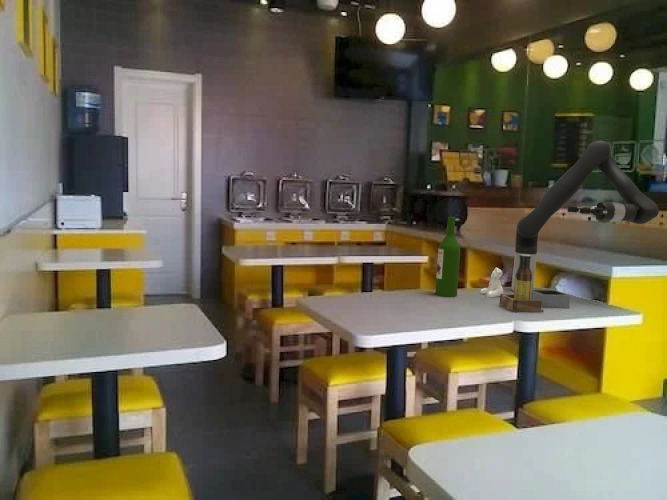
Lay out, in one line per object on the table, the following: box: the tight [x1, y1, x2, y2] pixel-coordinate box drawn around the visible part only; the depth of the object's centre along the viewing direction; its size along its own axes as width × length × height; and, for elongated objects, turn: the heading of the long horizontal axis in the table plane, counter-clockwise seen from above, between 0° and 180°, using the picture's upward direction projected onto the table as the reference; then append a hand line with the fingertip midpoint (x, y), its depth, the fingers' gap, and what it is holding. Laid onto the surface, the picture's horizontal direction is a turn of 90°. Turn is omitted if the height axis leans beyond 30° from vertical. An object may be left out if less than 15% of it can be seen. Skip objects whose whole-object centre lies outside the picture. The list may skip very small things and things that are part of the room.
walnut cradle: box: [498, 293, 544, 313], centre depth 236 cm, size 12×12×4 cm
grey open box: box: [531, 289, 571, 309], centre depth 247 cm, size 11×12×5 cm
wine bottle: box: [434, 216, 461, 298], centre depth 255 cm, size 9×9×32 cm
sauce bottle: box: [513, 254, 532, 300], centre depth 235 cm, size 7×6×20 cm
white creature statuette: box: [480, 267, 504, 298], centre depth 261 cm, size 10×9×12 cm
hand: (574, 210), depth 248 cm, fingers open, 8 cm apart
